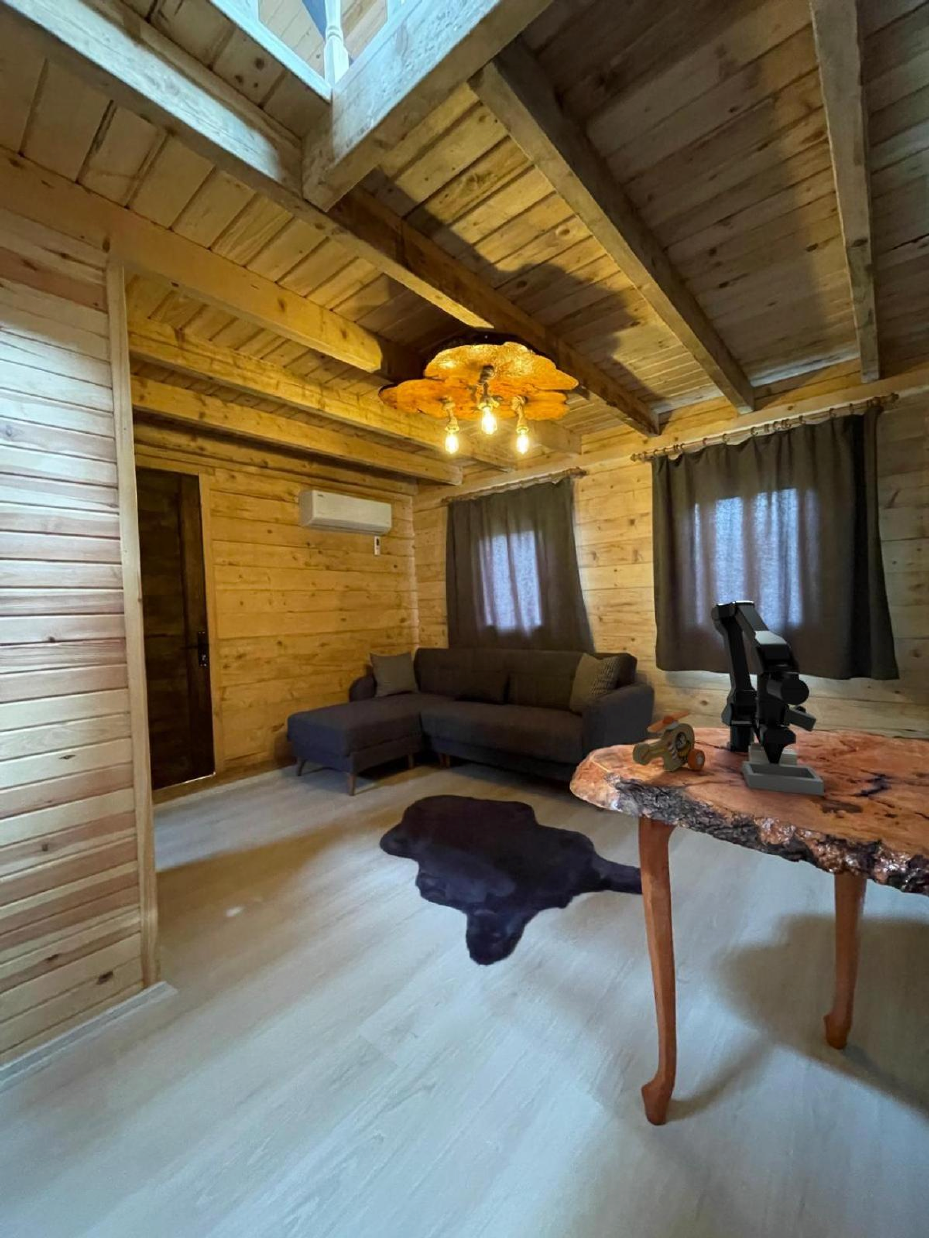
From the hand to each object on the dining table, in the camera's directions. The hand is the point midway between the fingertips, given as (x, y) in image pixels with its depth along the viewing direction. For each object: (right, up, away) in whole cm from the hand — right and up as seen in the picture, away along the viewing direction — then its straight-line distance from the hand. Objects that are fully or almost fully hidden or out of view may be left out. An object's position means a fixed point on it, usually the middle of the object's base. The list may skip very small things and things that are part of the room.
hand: (771, 763), depth 116 cm
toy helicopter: (-24, -2, 0) cm, 24 cm away
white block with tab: (0, -1, 0) cm, 1 cm away
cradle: (-4, -2, -9) cm, 10 cm away
